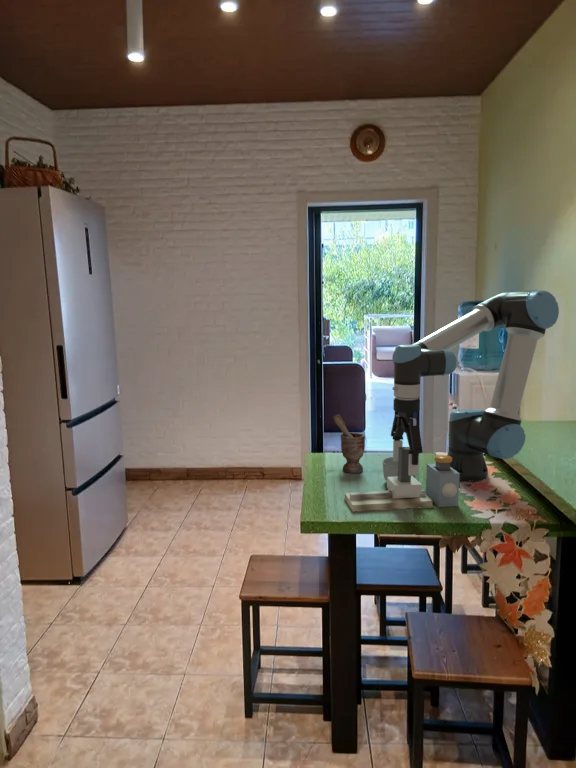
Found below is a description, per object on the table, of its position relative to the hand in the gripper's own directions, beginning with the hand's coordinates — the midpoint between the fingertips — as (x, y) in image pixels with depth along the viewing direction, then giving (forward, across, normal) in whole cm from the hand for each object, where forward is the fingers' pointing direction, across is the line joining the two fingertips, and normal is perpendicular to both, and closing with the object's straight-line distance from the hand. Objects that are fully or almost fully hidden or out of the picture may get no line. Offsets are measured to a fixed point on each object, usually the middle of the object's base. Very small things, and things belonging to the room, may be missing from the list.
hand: (405, 467), depth 158 cm
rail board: (+11, 0, -5) cm, 12 cm away
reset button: (+4, 0, +12) cm, 13 cm away
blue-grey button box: (+11, 0, +12) cm, 16 cm away
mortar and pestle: (+11, -33, -9) cm, 36 cm away
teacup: (+11, -18, +5) cm, 22 cm away
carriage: (+8, 0, 0) cm, 8 cm away
